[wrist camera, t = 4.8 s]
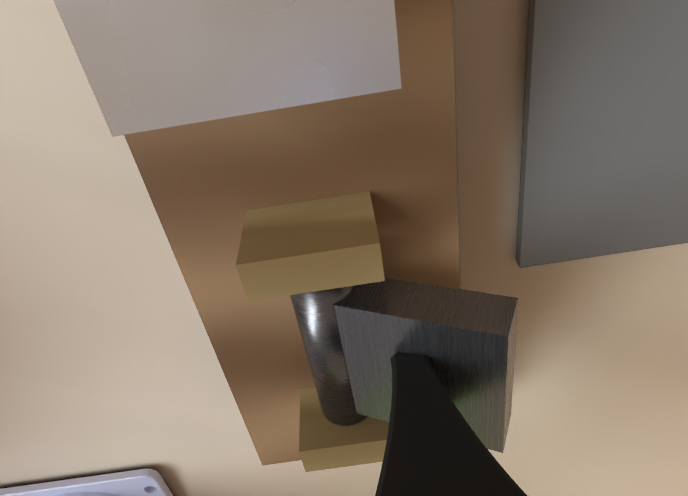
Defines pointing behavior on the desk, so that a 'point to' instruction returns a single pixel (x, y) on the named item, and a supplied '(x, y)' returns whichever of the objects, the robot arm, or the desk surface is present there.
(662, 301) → the desk surface
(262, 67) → the brushed metal cube
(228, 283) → the body
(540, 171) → the mat
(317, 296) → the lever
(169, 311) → the desk surface
